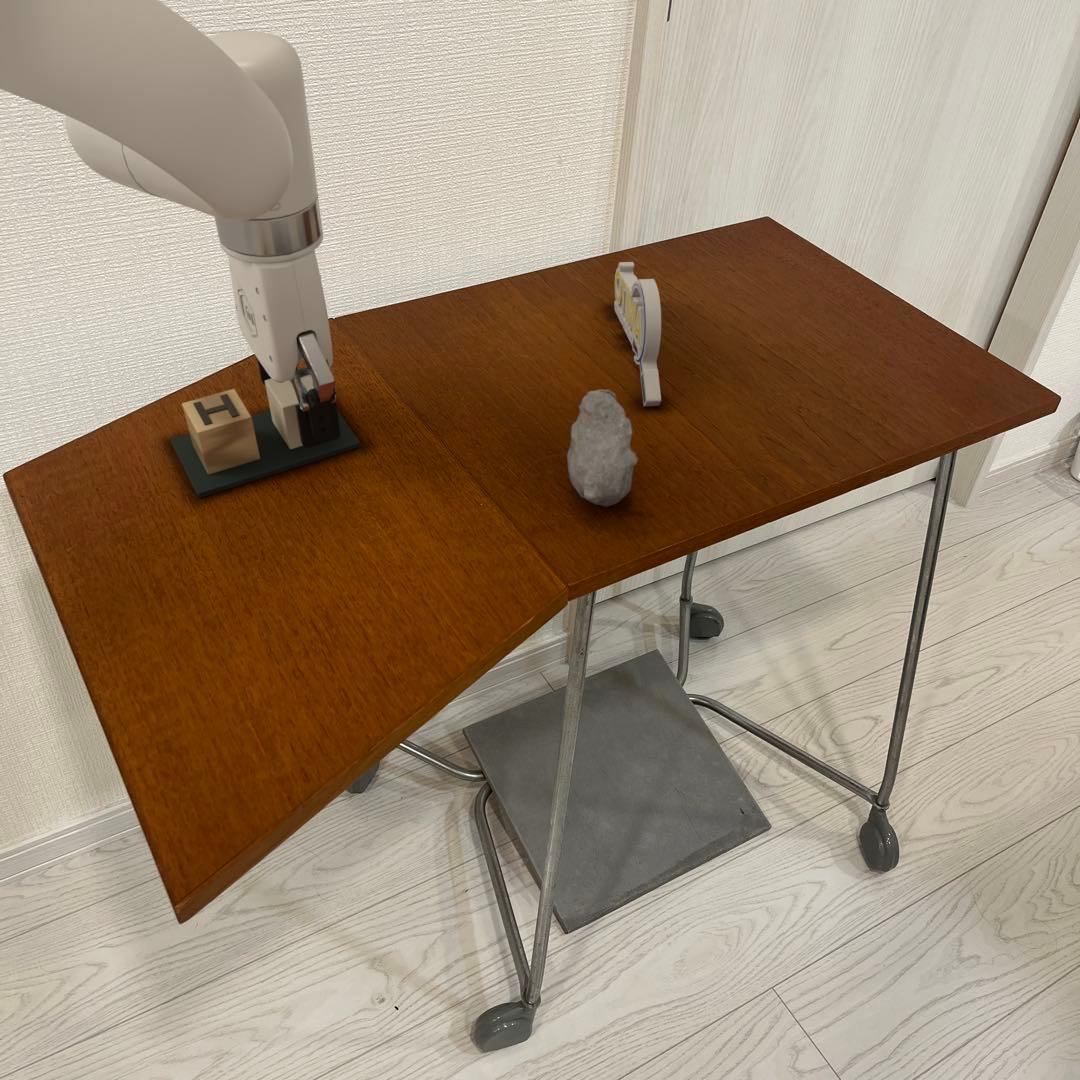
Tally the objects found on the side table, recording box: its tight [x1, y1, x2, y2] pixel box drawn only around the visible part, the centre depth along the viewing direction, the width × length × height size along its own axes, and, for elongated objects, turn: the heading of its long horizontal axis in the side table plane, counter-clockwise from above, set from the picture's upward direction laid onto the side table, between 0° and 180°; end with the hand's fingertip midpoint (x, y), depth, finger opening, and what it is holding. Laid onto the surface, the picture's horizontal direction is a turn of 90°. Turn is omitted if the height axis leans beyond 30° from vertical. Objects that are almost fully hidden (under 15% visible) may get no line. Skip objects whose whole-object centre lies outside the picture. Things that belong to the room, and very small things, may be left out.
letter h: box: [181, 388, 260, 475], centre depth 83 cm, size 4×4×4 cm
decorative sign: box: [613, 261, 662, 407], centre depth 96 cm, size 18×1×10 cm, turn 6°
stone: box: [566, 389, 639, 508], centre depth 80 cm, size 9×7×10 cm
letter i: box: [264, 376, 314, 449], centre depth 86 cm, size 4×4×4 cm
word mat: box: [169, 409, 361, 499], centre depth 86 cm, size 14×8×1 cm, turn 120°
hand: (300, 409), depth 86 cm, fingers open, 9 cm apart
